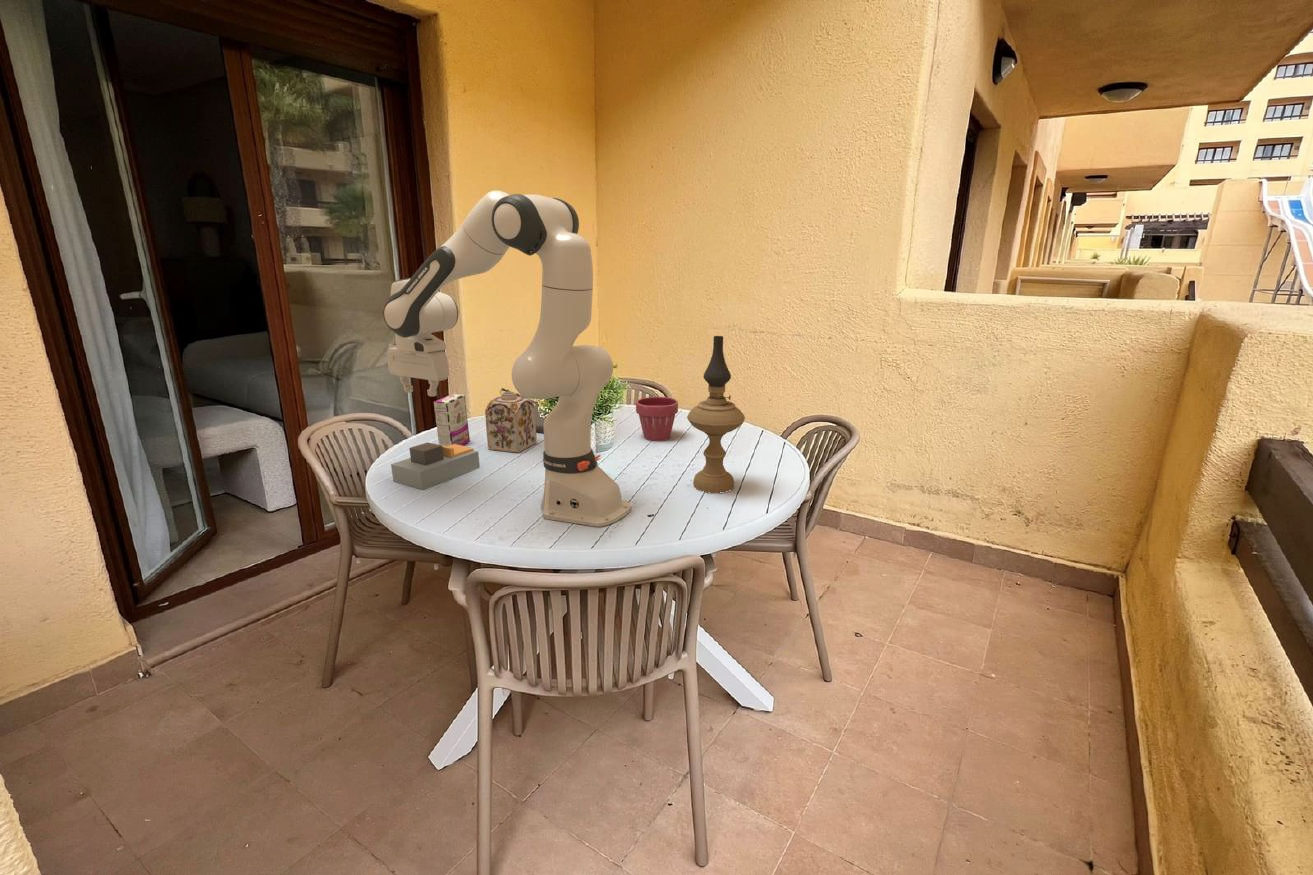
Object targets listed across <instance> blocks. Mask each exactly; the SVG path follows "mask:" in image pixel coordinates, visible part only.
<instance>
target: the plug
mask: <svg viewBox="0 0 1313 875" xmlns="http://www.w3.org/2000/svg"><path fill="white" fill-rule="evenodd" d="M437 444H438V443H433V442H432V443H431V442H429V441H428V442H425V443H420V444H417V445H415V446H411V447H409V455H410V457H409V458H411V462H414V463H418V464H421V465H425V466H426V465H429V464H432V463H435V462H438V461H440V460H443V459H444V458H443V449H442V446H441V445H439V444H438V445H437Z"/></svg>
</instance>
